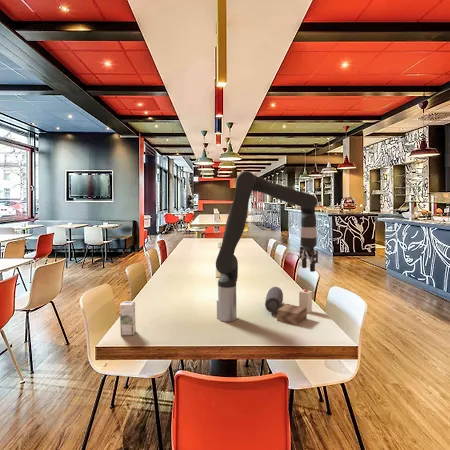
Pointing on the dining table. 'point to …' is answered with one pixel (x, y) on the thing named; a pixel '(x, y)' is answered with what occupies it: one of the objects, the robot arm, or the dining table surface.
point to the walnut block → (292, 314)
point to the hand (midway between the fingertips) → (308, 269)
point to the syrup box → (127, 318)
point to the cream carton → (305, 299)
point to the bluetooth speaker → (274, 299)
